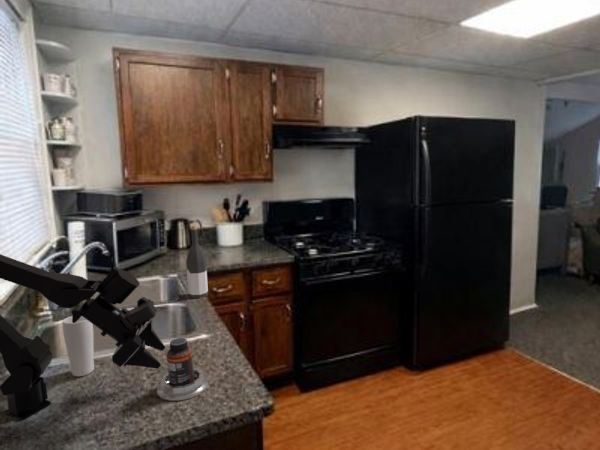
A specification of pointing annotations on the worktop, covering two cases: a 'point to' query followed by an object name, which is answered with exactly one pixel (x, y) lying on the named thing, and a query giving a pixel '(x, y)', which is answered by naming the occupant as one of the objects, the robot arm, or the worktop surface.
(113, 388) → the worktop surface
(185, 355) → the supplement bottle
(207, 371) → the worktop surface
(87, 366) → the drinking glass
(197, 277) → the wine bottle
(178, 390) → the faceted metal ring
